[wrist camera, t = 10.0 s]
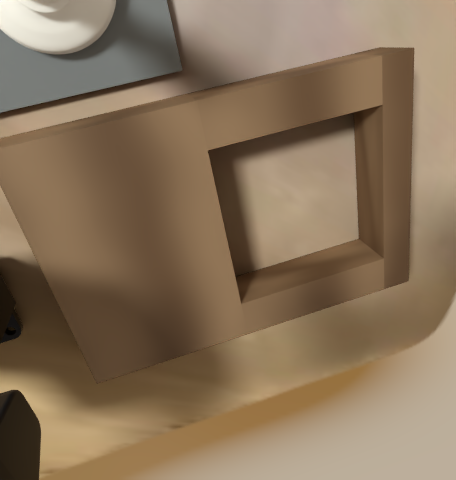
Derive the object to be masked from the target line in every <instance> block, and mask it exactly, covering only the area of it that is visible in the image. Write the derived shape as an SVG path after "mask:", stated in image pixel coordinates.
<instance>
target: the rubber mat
mask: <svg viewBox="0 0 456 480" xmlns="http://www.w3.org/2000/svg"><path fill="white" fill-rule="evenodd" d="M178 71H182V66H181V61H180V57H179V53H178V48H177V44H176V39H175V35H174V31H173V26H172V22H171V17H170V13H169V9H168V4H167V0H116V5H115V10H114V13H113V16H112V19H111V21H110V23H109V25H108V27H107V28H106V30H105V31H104V33H103V34H102V35H101V36H100V37H99V38H98V39H97V40H96V41H95V42H94V43H92V44H91V45H89V46H88V47H86V48H84V49H82V50H80V51H77V52H73V53H69V54H47V53H42V52H38V51H35V50H32V49H30V48H27V47H25V46H23V45H21V44H19V43H18V42H16V41H15V40H13V39H12V38H10V37H9V36H8V35H6V34H5V33H4V32H3V31H2V30H1V29H0V113H1V112H5V111H9V110H14V109H18V108H22V107H27V106H31V105H35V104H40V103H44V102H48V101H53V100H57V99H61V98H66V97H70V96H74V95H78V94H83V93H87V92H91V91H96V90H100V89H104V88H109V87H113V86H117V85H122V84H126V83H130V82H135V81H139V80H143V79H148V78H152V77H156V76H161V75H165V74H169V73H174V72H178Z"/></svg>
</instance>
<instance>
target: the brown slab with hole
mask: <svg viewBox="0 0 456 480" xmlns="http://www.w3.org/2000/svg"><path fill="white" fill-rule="evenodd" d="M413 79H414V48H376V49H372V50H368V51H363V52H359V53H355V54H351V55H347V56H343V57H338V58H334V59H330V60H326V61H322V62H318V63H313V64H309V65H305V66H301V67H297V68H293V69H288V70H284V71H280V72H276V73H272V74H268V75H263V76H259V77H255V78H251V79H247V80H243V81H238V82H234V83H230V84H226V85H222V86H218V87H213V88H209V89H205V90H201V91H197V92H192V93H188V94H184V95H180V96H176V97H172V98H167V99H163V100H159V101H155V102H151V103H147V104H142V105H138V106H134V107H130V108H126V109H122V110H117V111H113V112H109V113H105V114H101V115H97V116H92V117H88V118H84V119H80V120H76V121H72V122H67V123H63V124H59V125H55V126H51V127H46V128H42V129H38V130H34V131H30V132H26V133H21V134H17V135H13V136H9V137H5V138H1V139H0V186H1V188H2V190H3V192H4V194H5V196H6V198H7V200H8V202H9V204H10V206H11V208H12V210H13V212H14V214H15V217H16V219H17V221H18V223H19V225H20V227H21V229H22V231H23V233H24V235H25V237H26V239H27V241H28V243H29V245H30V247H31V249H32V251H33V254H34V256H35V258H36V260H37V262H38V264H39V266H40V268H41V270H42V272H43V274H44V276H45V278H46V280H47V282H48V284H49V286H50V288H51V291H52V293H53V295H54V297H55V299H56V301H57V303H58V305H59V307H60V309H61V311H62V313H63V315H64V317H65V319H66V321H67V323H68V325H69V328H70V330H71V332H72V334H73V336H74V338H75V340H76V342H77V344H78V346H79V348H80V350H81V352H82V354H83V356H84V358H85V360H86V362H87V365H88V367H89V369H90V371H91V373H92V375H93V377H94V379H95V381H96V383H97V384H98V383H101V382H104V381H107V380H110V379H113V378H116V377H119V376H122V375H125V374H128V373H131V372H134V371H137V370H140V369H143V368H146V367H149V366H152V365H155V364H158V363H161V362H164V361H167V360H170V359H173V358H176V357H179V356H183V355H186V354H189V353H192V352H195V351H198V350H201V349H204V348H207V347H210V346H213V345H216V344H219V343H222V342H225V341H228V340H231V339H234V338H237V337H240V336H243V335H246V334H249V333H252V332H255V331H258V330H261V329H264V328H268V327H271V326H274V325H277V324H280V323H283V322H286V321H289V320H292V319H295V318H298V317H301V316H304V315H307V314H310V313H313V312H316V311H319V310H322V309H325V308H328V307H331V306H334V305H337V304H340V303H343V302H346V301H349V300H353V299H356V298H359V297H362V296H365V295H368V294H371V293H374V292H377V291H380V290H383V289H386V288H389V287H392V286H395V285H398V284H401V283H404V282H407V281H408V278H409V238H410V198H411V158H412V118H413ZM353 112H354V132H355V156H356V179H357V203H358V227H359V239H357V240H354V241H351V242H347V243H344V244H341V245H338V246H334V247H331V248H328V249H325V250H322V251H318V252H315V253H312V254H309V255H305V256H302V257H299V258H296V259H292V260H289V261H286V262H283V263H279V264H276V265H273V266H270V267H266V268H263V269H260V270H257V271H253V272H250V273H247V274H244V275H240V276H237V277H235V273H234V269H233V264H232V259H231V255H230V250H229V246H228V241H227V237H226V232H225V227H224V223H223V218H222V214H221V209H220V204H219V200H218V195H217V191H216V186H215V182H214V177H213V172H212V168H211V163H210V159H209V154H208V150H211V149H215V148H219V147H223V146H227V145H230V144H234V143H238V142H242V141H246V140H250V139H253V138H257V137H261V136H265V135H269V134H273V133H276V132H280V131H284V130H288V129H292V128H296V127H299V126H303V125H307V124H311V123H315V122H319V121H322V120H326V119H330V118H334V117H338V116H342V115H345V114H349V113H353Z"/></svg>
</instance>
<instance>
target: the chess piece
mask: <svg viewBox="0 0 456 480" xmlns="http://www.w3.org/2000/svg"><path fill="white" fill-rule="evenodd" d="M115 5H116V0H0V29H1V30H2V31H3V32H4V33H5V34H6V35H8V36H9V37H10V38H12V39H13V40H15V41H16V42H18V43H19V44H21V45H23V46H25V47H27V48H30V49H32V50H35V51H38V52H42V53H47V54H69V53H73V52H77V51H80V50H82V49H84V48H86V47H88V46H89V45H91V44H92V43H94V42H95V41H96V40H97V39H98V38H99V37H100V36H101V35H102V34H103V33H104V31H105V30H106V28H107V27H108V25H109V23H110V21H111V19H112V16H113V13H114V10H115Z"/></svg>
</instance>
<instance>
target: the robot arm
mask: <svg viewBox="0 0 456 480" xmlns="http://www.w3.org/2000/svg"><path fill="white" fill-rule="evenodd" d="M15 304H16V302H15V300H14V298H13V296H12V295H11V293H10V291H9V289H8V287H7V285H6V284H5V282H4V280H3V278H2V276H1V274H0V343H3V342H6V341H9V340H12V339H15V338H17V337H19V336H20V335H21V332H22V328H23V324H22V322H21V320H20V318H19V317H18V315H17V313H16V311H15V309H14V306H15ZM7 327H13V328H15V329H16V330H8V329H7ZM40 444H41V428H40V423H39V420H38V418H37V417H36V415H35V413H34V412H33V410H32V409H31V407H30V405H29V404H28V402H27V401H26V399H25V397H24V396H23V394H22V393H21V392H20V391H18V390H11V391H7V392H4V393H0V480H39V466H40Z"/></svg>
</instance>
